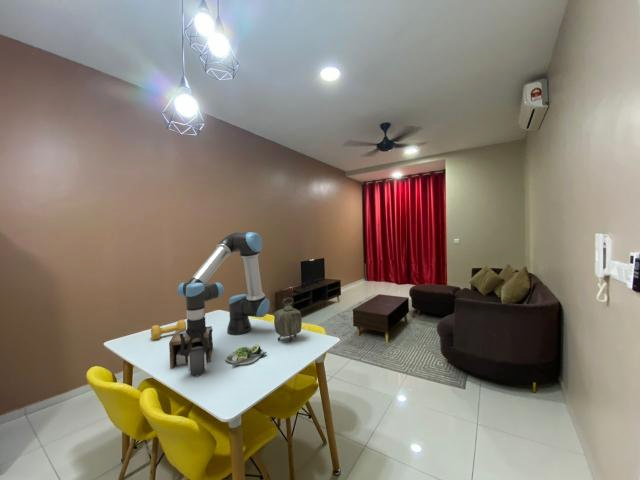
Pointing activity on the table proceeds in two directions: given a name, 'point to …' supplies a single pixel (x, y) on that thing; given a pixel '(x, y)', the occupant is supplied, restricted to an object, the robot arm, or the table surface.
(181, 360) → the grey lane block
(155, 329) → the dumbbell
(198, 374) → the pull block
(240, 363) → the avocado toast plate
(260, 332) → the table surface
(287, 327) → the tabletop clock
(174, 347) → the lane shelf
